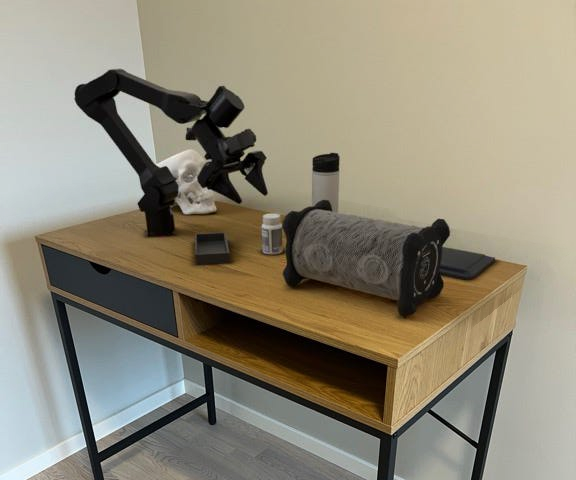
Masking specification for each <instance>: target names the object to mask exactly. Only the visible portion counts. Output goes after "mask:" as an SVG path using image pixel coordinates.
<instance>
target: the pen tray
mask: <svg viewBox="0 0 576 480" xmlns="http://www.w3.org/2000/svg"><path fill="white" fill-rule="evenodd" d="M194 257H195V265H196V266H198V265H215V264H216V265H217V264H231V254H230V248H229V244H228V237H227V232H226V231H224V232H223V231H222V232H204V233H194Z"/></svg>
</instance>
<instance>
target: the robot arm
mask: <svg viewBox="0 0 576 480" xmlns="http://www.w3.org/2000/svg"><path fill="white" fill-rule="evenodd" d="M120 92H121V93H124V94H126V95H128V96H131V97H133V98H135V99H138V100H140V101H143V102H144V103H147V104H149V105H152V106H153V107H156V108H158V109H159V110H161V111H162V113H163V114H164V115H165V116H166V117H168V118H169V119H171V120H172V121H174V122H175V123H177V124H180V125H185V124H189V123H192V122H194V124H193V125H192V126H191V127H186V129H185V130H186V133H185V137H184V139H185V140H186V141H197V143H198V144H199V145H200V147H201V148H202V149H203V151H204V152H205V154H204V155H203V157H204V160H206V161H205V165H204V166H203V168H202V169H201V171H200V172H199V174H198V175H197V180H198V183H199V184H200V186H201V187H202V188H206V187H207V189H208V190H212V191H213V192H215V193H217V194H218V195H220V196H223V197H225V198H227V199H229V200H230V201H232V202H234V203H236V204H238V205H241V204H242V202H243V199H242V197H241V196H240V194H239V192H238V190H237V189H236V187H235V186H234V184H233V182H232V181H231V179H230V175H229V174H232V173H236V172H240V173H241V175H243V176H244V180H245V181H246V182H247V183H249V184H250V185H251V186H252V187H253V188H254V189H256V191H258V193H260V194H261V195H262V196H264V197H266V196H267V195H268V194H269V191H268V188H267V185H266V184H267V183H266V181H265V178H264V174H263V166H264V165H265V164H266V163H265V162H266V160H267V159H268V158H267V156H266V155H265V153H264V151H262V150H254V151H249V152H247V154H246V153H245V151H246V150H248V149H250V148H254V147H255V146H256V144H255V143H256V142H257V135H256V134H255V132H254V131H253V130H252V129H251V128H246V129H244V130H242V131H240V132H238V133H235V134H234V135H232V136H230V135H229V136H226V135H225V133H223V131H222V129H223V128H224V129H228V128H230V126H231V125H232V124H233V123H234V122H235V120H237V118H238V117H239V116H240V115H241V113H242V112H243V111H244V110H245V104H244V102H243V100H242V98H241V97H240V96H239V95H237V94H236V93H235V92H234V91H232V90H230V89H228V88H227V87H226V86H225V85H219V86H218V87H217V89H216V90H215V92H214V94H213V95H212V96H211V98H210V99H209V100H204V99H201V97H200V96H199V95H197V94H195V93H193V92H186V91H180V90H173V89H167V88H165V87H163V86H160V85H158V84H156V83H153V82H151V81H149V80H146V79H144V78H141V77H139V76H137V75H134V74H132V73H130V72H127V71H126V70H125V69H124V68H112V69H108V70H107V71H106V72H104V73H102V75H100V76H98V77H96V78H94V79H92V80H90V81H87V83H80V84H78V85H77V86H76V87H75V89H74V102H75V104H76V106H77V107H78V108H79V109H80V110H81V111H82V112H83V114H85V115H86V116H87V118H89V119H91V120H93V121H94V122H96V123H98V124H99V125H100V126H101V127H102V128H103V130H104V132H106V134H107V135H108V137H109V138H110V139H111V141H112V142H113V143H114V145H115V146H116V147H117V149H118V150H119V151H120V153H121V154H122V156H123V157H124V158H125V159H126V161H127V162H128V164H129V165H130V166H131V167H132V169H133V170H134V172H135V173H136V174H137V176H138V180H139V185H140V188H141V190H142V192H143V195H142V197H141V198H140V199H139V200H138V202H137V206H138V209H139V211H140V212H142V213H144V216H145V217H144V218H145V224H146V237H160V236H173V235H174V232H175V231H176V225H175V215H174V212H173V211H172V210H171V209H172V208H171V207H170V206H172V205H174V202H175V198H176V197H177V196H178V189H179V186H178V184H177V182H176V181H175V180H177V178H175V177H174V176H173V175H172V174H171V172H170V170H169V168H168V167H167V166H164V167H161V168H160V167H158V166H157V165H156V163H154V160H152V158H151V157H150V156H149V154H148V153H147V151H146V150H145V149H144V147H143V146H142V145H141V143H140V142H139V141H138V139H137V138H136V137H135V135H134V134H133V132H132V131H131V130H130V129H129V126H128V125H127V124H126V123H125V121H124V120H123V119H122V118H121V116H120V114H119V113H118V108H117V103H116V100H115V97H116V96H118V95H119V94H120ZM203 115H204V116H203ZM202 116H203V117H202ZM201 117H202V118H201ZM245 154H246V156H245ZM243 157H244V158H243ZM241 158H243V160H241Z"/></svg>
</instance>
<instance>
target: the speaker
mask: <svg viewBox="0 0 576 480" xmlns="http://www.w3.org/2000/svg"><path fill="white" fill-rule="evenodd" d="M281 222H282V223H281V224H282V231H283V233H284V235H285V238H286V239H285V240H286V242H285V260H286V266H285V267H284V269H283V270H282V276H283V279H284V282H285V284H286V285H287V287H290V288H295V287H297V286H298V285H299V284H300V283H301V282H302V281H303V280H308V279H311V280H315V281H320V282H323V283H327V284H331V285H333V286H339V287H342V288H346V289H349V290H354V291H358V292H362V293H366V294H367V293H368V294H370V295H375V296H378V297H381V298H386V299H388V300H390V299H391V300H394V301H397V303H396V308H397V312H398V314H399V316H400V317H403V318H406V317H408V316H409V317H410V316H411V315H413V314H415V313H417V308H418V307H420V306H421V305H423V304H424V303H425V302H426V301H427V300H428V299H434V298H437V297H439V296H440V295H441V293H442V291H443V289H444V287H445V283H444V280H443V277H442V275H441V274H440V265H441V259H442V247H444V245H445V243H446V242H447V240H448V239H449V237H450V236H451V229H450V226H449V224H448V223H447V221H446V219H444V218H437V219H436V220H435V221H433V222H432V224H431V225H430V226H426V227H423V226H422V227H421V226H417V225H409V224H404V223H399V222H393V221H386V220H382V219H375V218H370V217H365V216H360V215H359V216H358V215H355V214H348V213H340V212H338V213H336V212H333V211H332V206H331V204H330V202H329V200H321V201H319V202H318V203H316V204H315V206H312V205H311V206H307V207H304V208H303V209H302V210H299V211H295V210H291V211H290V212H288V213H287V214H286V215H284V218H283V219H282V221H281Z"/></svg>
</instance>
